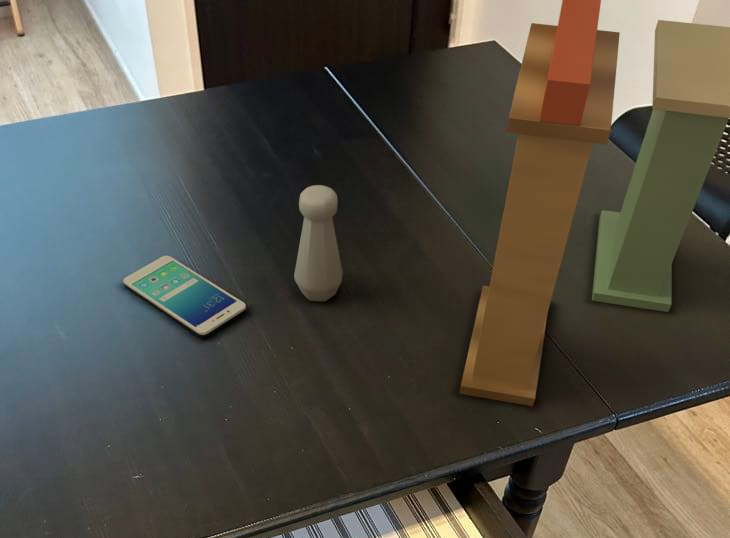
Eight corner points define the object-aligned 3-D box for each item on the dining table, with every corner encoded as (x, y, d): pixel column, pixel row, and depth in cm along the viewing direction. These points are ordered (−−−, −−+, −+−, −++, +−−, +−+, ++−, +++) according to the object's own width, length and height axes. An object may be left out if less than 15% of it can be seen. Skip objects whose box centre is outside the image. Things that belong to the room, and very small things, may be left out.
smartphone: (166, 253, 103) (249, 305, 97) (167, 259, 104) (249, 310, 98) (119, 280, 100) (201, 335, 94) (121, 286, 101) (202, 341, 95)
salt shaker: (288, 300, 99) (284, 201, 89) (303, 273, 103) (300, 173, 92) (334, 310, 98) (336, 210, 88) (348, 281, 101) (351, 182, 91)
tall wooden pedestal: (481, 293, 100) (531, 22, 76) (547, 303, 99) (619, 32, 75) (459, 393, 90) (508, 117, 66) (533, 406, 89) (610, 130, 64)
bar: (565, -18, 81) (573, -56, 79) (598, -14, 81) (607, -53, 78) (538, 121, 65) (547, 79, 63) (579, 126, 65) (590, 84, 62)
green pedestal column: (599, 217, 110) (658, 19, 90) (668, 227, 108) (743, 28, 89) (591, 300, 99) (656, 96, 80) (668, 312, 98) (752, 108, 79)
